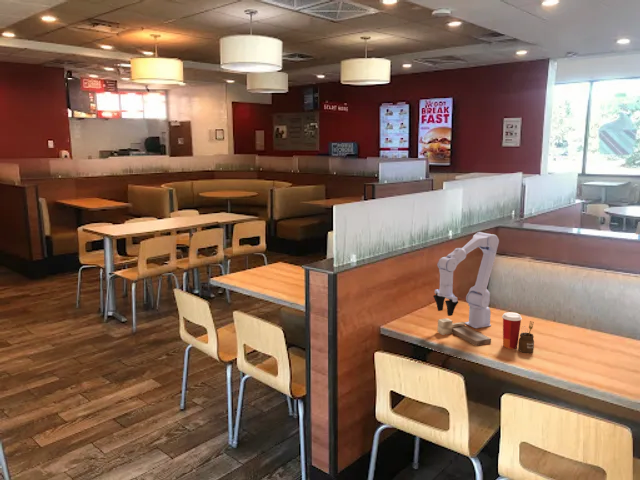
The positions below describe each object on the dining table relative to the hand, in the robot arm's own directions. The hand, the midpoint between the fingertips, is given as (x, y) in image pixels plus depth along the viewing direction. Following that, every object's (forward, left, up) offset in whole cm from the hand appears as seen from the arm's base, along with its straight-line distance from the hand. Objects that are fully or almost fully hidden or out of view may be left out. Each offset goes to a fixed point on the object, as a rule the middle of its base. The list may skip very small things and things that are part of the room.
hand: (445, 313), depth 230 cm
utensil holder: (-19, +30, -10) cm, 37 cm away
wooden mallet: (-4, 0, -9) cm, 10 cm away
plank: (-7, +7, -9) cm, 14 cm away
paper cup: (-16, +24, -10) cm, 31 cm away
